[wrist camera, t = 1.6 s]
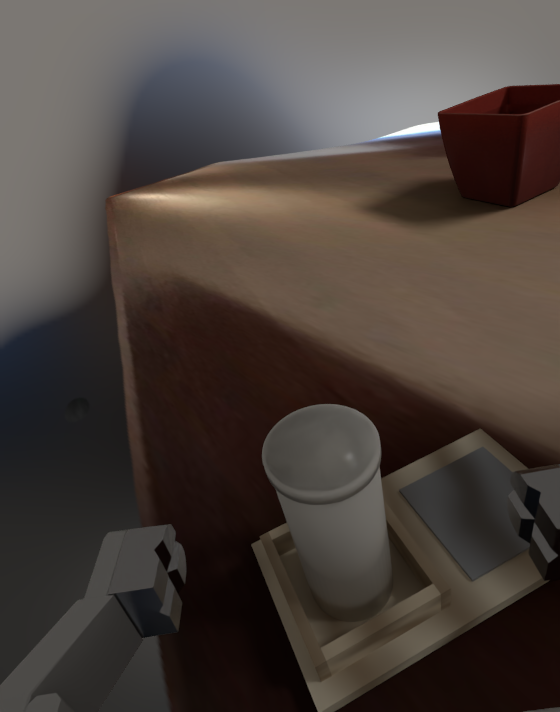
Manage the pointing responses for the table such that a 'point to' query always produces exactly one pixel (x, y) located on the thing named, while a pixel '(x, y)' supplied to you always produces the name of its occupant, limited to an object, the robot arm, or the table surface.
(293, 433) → the tall white canister
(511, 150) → the plant pot
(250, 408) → the table surface
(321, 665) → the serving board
